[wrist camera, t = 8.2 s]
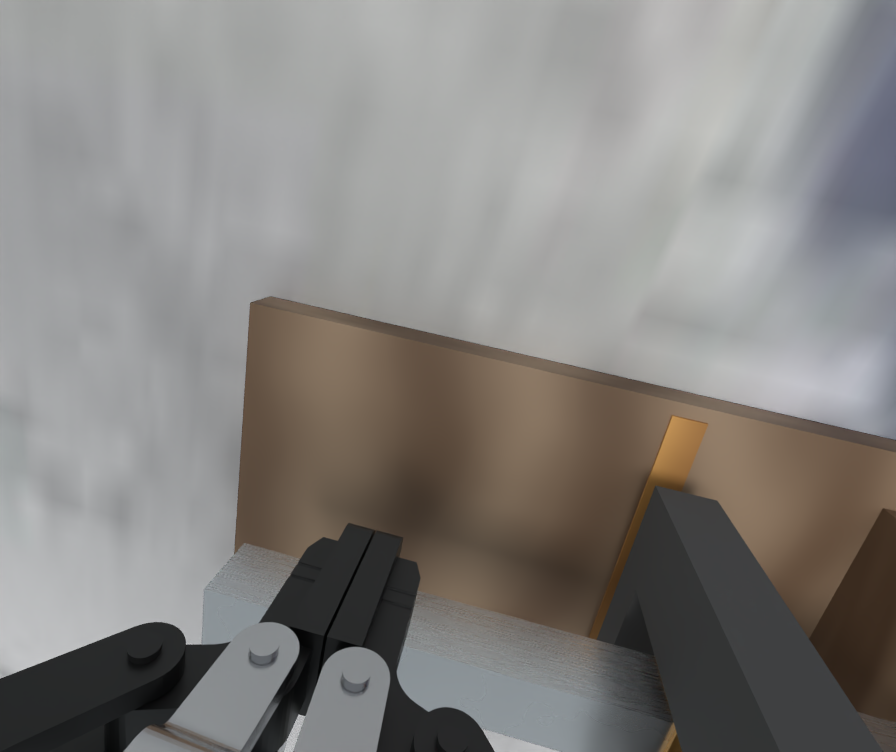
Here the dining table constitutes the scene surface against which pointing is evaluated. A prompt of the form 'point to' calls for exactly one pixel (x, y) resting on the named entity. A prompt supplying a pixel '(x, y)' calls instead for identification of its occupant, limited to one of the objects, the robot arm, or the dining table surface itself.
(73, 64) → the dining table surface
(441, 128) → the dining table surface
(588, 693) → the light grey beam
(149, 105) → the dining table surface
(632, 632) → the dark grey block
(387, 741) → the robot arm
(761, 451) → the base board
